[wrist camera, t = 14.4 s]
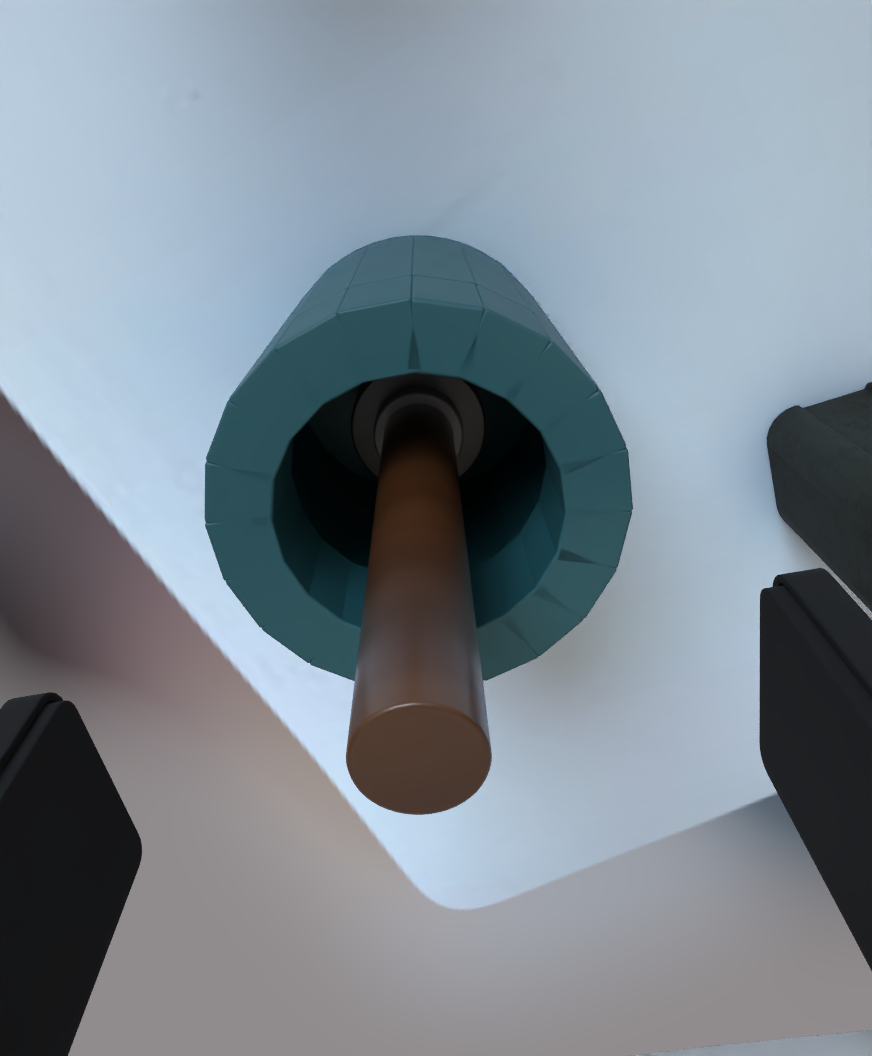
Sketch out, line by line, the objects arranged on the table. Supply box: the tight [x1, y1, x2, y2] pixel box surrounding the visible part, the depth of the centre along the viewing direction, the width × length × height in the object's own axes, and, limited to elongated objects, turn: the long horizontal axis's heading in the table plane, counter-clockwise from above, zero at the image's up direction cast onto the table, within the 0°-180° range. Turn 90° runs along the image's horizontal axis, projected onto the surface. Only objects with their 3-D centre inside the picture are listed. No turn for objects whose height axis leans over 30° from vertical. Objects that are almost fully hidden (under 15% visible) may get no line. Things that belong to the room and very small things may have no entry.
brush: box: [346, 373, 492, 815], centre depth 19 cm, size 4×4×19 cm
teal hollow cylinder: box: [205, 236, 633, 681], centre depth 23 cm, size 9×9×12 cm
